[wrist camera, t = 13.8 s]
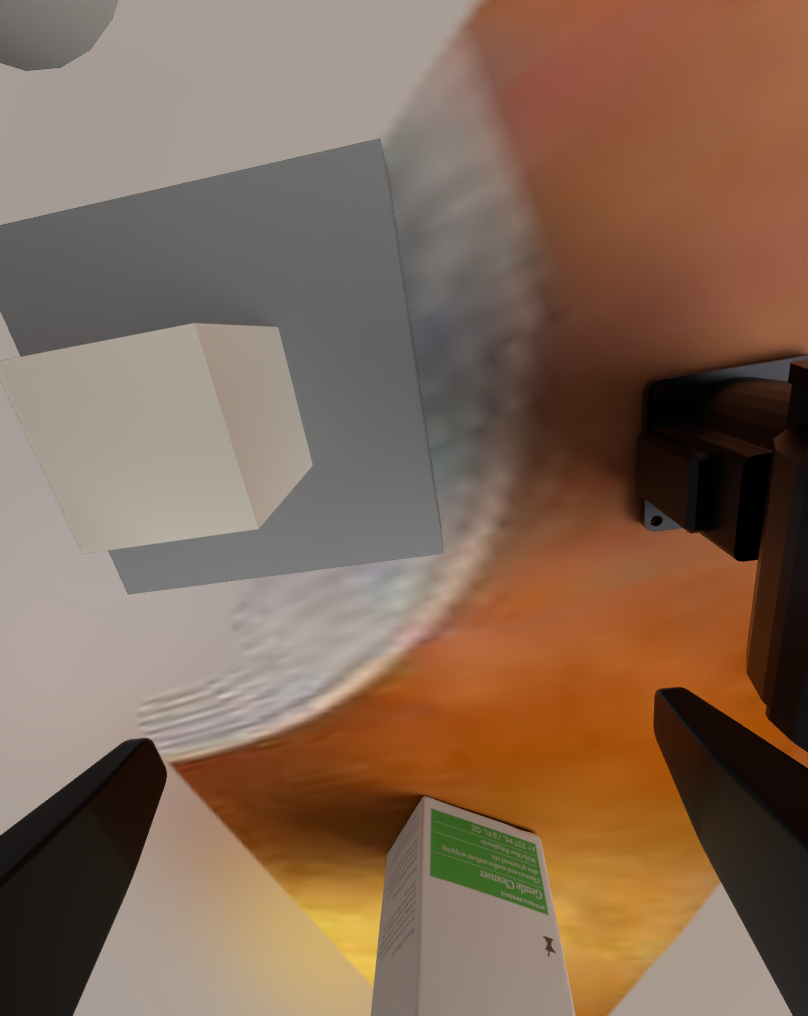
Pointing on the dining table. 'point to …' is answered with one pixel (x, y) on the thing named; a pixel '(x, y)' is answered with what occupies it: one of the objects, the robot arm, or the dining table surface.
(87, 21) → the can
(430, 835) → the skincare box
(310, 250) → the base board
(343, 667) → the dining table surface
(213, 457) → the block
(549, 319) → the dining table surface
